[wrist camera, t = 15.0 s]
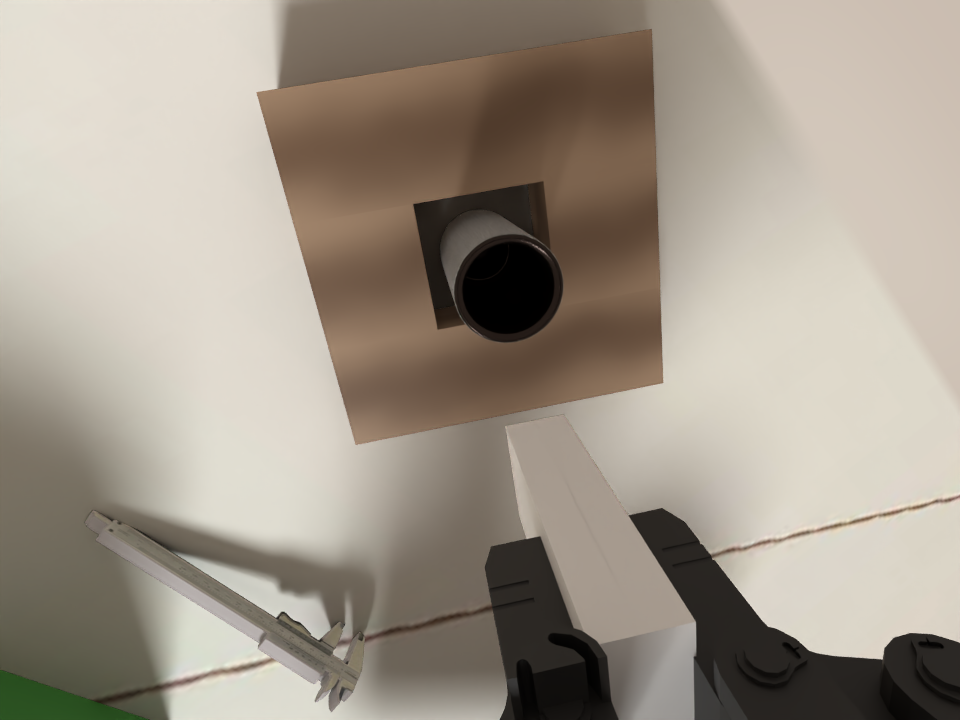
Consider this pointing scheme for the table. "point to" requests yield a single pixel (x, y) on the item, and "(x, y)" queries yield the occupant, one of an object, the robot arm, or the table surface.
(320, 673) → the caliper
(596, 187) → the socket board
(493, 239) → the grey metal tube
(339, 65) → the table surface
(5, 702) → the hardback book
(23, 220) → the table surface
